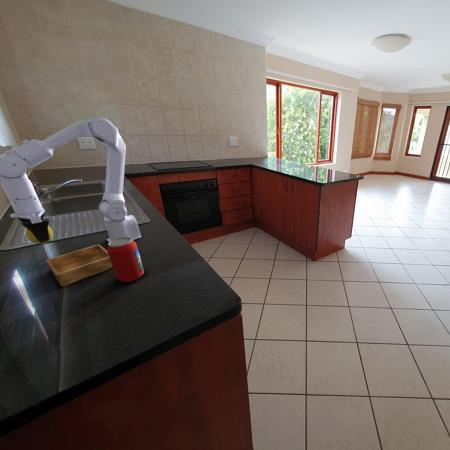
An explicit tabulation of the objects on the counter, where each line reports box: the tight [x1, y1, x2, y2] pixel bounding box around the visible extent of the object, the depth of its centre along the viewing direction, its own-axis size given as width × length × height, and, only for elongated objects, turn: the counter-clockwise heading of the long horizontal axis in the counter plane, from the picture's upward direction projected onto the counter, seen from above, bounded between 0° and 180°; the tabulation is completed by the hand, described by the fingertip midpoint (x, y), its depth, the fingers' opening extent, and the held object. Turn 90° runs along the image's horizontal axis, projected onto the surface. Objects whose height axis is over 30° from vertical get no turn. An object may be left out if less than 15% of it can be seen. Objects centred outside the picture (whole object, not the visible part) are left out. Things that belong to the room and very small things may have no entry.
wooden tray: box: [45, 243, 113, 287], centre depth 74 cm, size 13×13×4 cm
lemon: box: [25, 225, 54, 246], centre depth 74 cm, size 6×6×8 cm
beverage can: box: [106, 237, 145, 283], centre depth 68 cm, size 7×7×12 cm
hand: (42, 238), depth 75 cm, fingers closed on lemon, 5 cm apart
